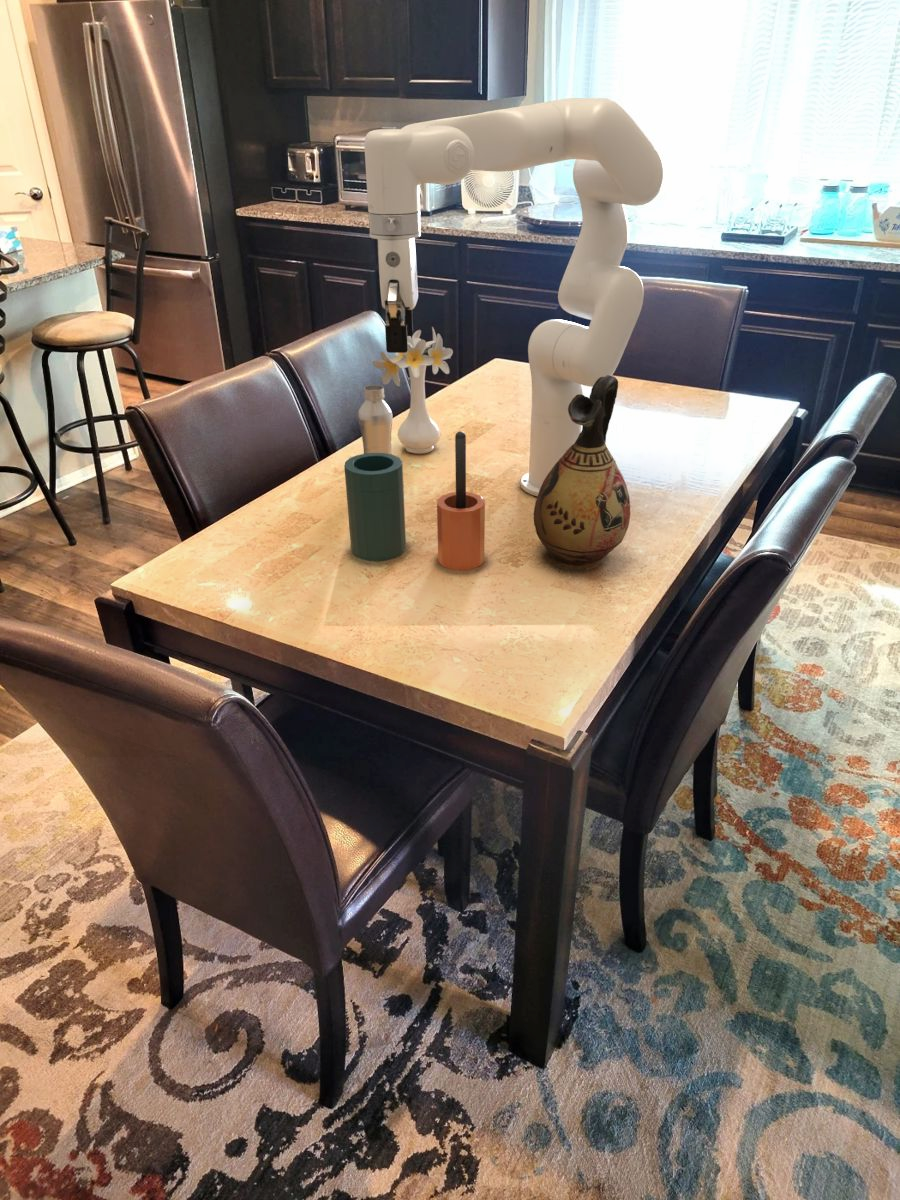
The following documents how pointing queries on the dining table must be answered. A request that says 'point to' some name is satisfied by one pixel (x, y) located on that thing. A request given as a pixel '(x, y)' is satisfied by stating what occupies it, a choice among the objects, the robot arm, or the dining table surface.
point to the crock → (461, 532)
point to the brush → (460, 469)
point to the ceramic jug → (585, 488)
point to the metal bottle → (375, 421)
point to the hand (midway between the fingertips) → (400, 343)
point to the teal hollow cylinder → (376, 506)
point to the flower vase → (417, 388)
